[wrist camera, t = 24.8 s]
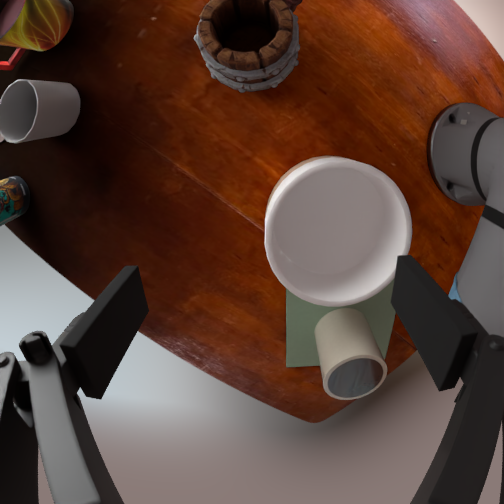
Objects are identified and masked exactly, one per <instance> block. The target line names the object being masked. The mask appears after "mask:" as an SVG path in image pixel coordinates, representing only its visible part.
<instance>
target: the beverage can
mask: <svg viewBox="0 0 504 504" xmlns="http://www.w3.org/2000/svg"><path fill="white" fill-rule="evenodd" d="M29 203H30V191H29V188H28V186H27V184H26V182H25V181H24V180H23V179H22V178H21V177H18V176H12V177H9V178H6V179H3V180H1V181H0V226H2V225H4V224H5V223H7V222H9V221H11V220H13V219H15V218H17V217H19V216H21V215H23V214H24V213H25V212H26V211H27V209H28V207H29Z"/></svg>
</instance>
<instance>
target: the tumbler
mask: <svg viewBox="0 0 504 504" xmlns="http://www.w3.org/2000/svg"><path fill="white" fill-rule="evenodd" d="M314 337H315V342H316V348H317V353H318V359H319V364H320V370H321V376H322V382H323V387H324V390H325V391H326V393H327V394H328V395H330V396H331V397H333V398H336V399H341V400H351V399H357V398H360V397H363V396H365V395H368V394H369V393H371V392H373V391H374V390H376V389H377V388H378V387H379V386H380V385H381V384H382V382H383V381H384V379H385V377H386V374H387V366H386V363H385V360H384V358H383V356H382V353H381V351H380V348H379V346H378V344H377V341H376V339H375V337H374V334H373V332H372V330H371V327H370V325H369V323H368V321H367V318H366V317H365V315H364V314H363V313H361V312H360V311H358V310H356V309H352V308H340V309H336V310H333V311H331V312H329V313H328V314H326V315H325V316H323V317H322V318H321V319H320V321H319V322H318V323H317V325H316V328H315V331H314Z"/></svg>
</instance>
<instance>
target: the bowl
mask: <svg viewBox="0 0 504 504" xmlns="http://www.w3.org/2000/svg"><path fill="white" fill-rule="evenodd" d="M411 238H412V220H411V216H410V211H409V207H408V205H407V202H406V200H405V198H404V196H403V194H402V192H401V191H400V189H399V188H398V187H397V185H396V184H395V183H394V182H393V181H392V180H391V179H390V178H389V177H388V176H387V175H386V174H385V173H383V172H382V171H380V170H378V169H376V168H374V167H373V166H371V165H368V164H365V163H361V162H358V161H355V160H351V159H348V158H343V157H339V156H320V157H314V158H311V159H308V160H305V161H303V162H301V163H299V164H297V165H296V166H294V167H292V168H291V169H290V170H289V171H288V172H286V173H285V174H284V175H283V176H282V177H281V178H280V180H279V181H278V183H277V184H276V185H275V187H274V188H273V191H272V193H271V195H270V197H269V199H268V204H267V208H266V217H265V249H266V254H267V259H268V261H269V263H270V266H271V268H272V271H273V272H274V274H275V275H276V277H277V278H278V280H279V281H280V282H281V283H282V284H283V285H284V286H285V287H286V288H287V289H288V290H289V291H290V292H291V293H293V294H294V295H296V296H297V297H299V298H301V299H302V300H305V301H307V302H310V303H313V304H316V305H322V306H327V307H341V306H347V305H352V304H356V303H359V302H361V301H364V300H367V299H369V298H370V297H372V296H374V295H375V294H377V293H379V292H380V291H381V290H382V289H384V288H385V287H386V286H387V285H388V284H389V283H390V282H391V281H392V280H393V279H394V277H395V271H396V264H397V256H400V255H407V254H408V252H409V249H410V244H411Z"/></svg>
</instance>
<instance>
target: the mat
mask: <svg viewBox="0 0 504 504" xmlns="http://www.w3.org/2000/svg"><path fill="white" fill-rule="evenodd" d="M394 278H395V277H394ZM393 284H394V279H393V280H392V281H391V282H390V283H389V284H388V285H387V286H386V287H385V288H384V289H382V290H381V291H380V292H379V293H377V294H375V295H374V296H372V297H370V298H369V299H367V300H364V301H361V302H359V303H356V304H352V305H347V306H341V307H327V306H322V305H316V304H313V303H310V302H307V301H305V300H302V299H301V298H299V297H297V296H296V295H294V294H293V293H291V292H290V291H289V290H288V289H287V288H286V367H301V366H317V365H320V364H319V359H318V353H317V348H316V342H315V337H314V331H315V328H316V325H317V323H318V322H319V321H320V319H321V318H322V317H323V316H325V315H326V314H328V313H329V312H331V311H333V310H336V309H340V308H352V309H356V310H358V311H360V312H361V313H363V314H364V315H365V317H366V318H367V321H368V323H369V325H370V327H371V330H372V332H373V334H374V337H375V339H376V341H377V344H378V346H379V348H380V351H381V353H382V356H383V358H384V359H385V356H386V353H387V349H388V344H389V340H390V336H391V332H392V327H393V323H394V318H395V313H396V311H395V310H394V308H393V306H392V304H391V303H390V302H391V296H392V290H393Z"/></svg>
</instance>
